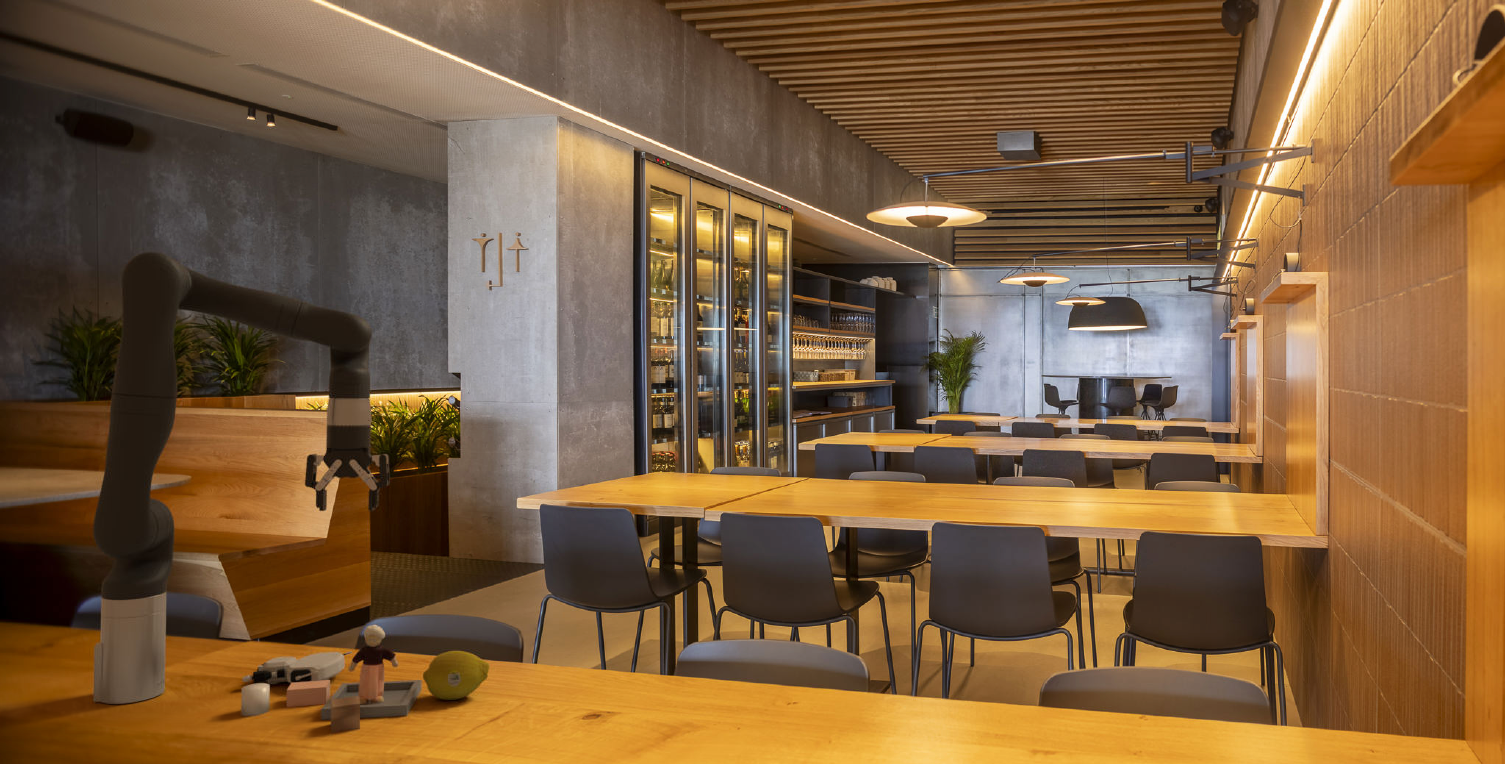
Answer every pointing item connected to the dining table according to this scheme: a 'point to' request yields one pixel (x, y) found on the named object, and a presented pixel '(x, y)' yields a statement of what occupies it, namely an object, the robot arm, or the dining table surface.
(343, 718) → the walnut cube
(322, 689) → the terracotta block
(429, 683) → the lemon
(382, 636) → the grandmother figurine
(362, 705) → the tray
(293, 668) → the robot toy
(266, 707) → the white rounded cylinder block
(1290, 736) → the dining table surface
